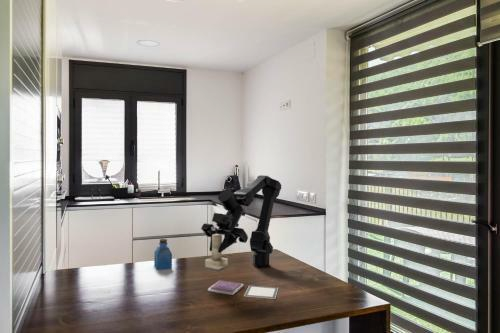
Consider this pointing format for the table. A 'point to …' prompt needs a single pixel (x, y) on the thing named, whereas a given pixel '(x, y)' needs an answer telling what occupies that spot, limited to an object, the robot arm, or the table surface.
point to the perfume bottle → (163, 256)
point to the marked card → (261, 292)
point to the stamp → (216, 256)
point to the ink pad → (226, 287)
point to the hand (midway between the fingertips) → (214, 251)
